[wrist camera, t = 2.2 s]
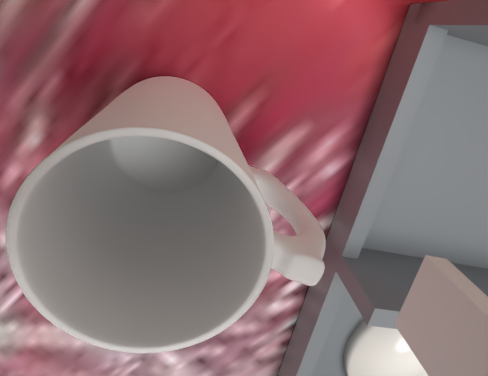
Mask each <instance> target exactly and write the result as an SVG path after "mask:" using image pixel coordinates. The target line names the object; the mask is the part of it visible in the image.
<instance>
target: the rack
mask: <svg viewBox="0 0 488 376" xmlns="http://www.w3.org/2000/svg"><path fill="white" fill-rule="evenodd" d="M425 255H428V256H434V257H440V258H445V259H447V260H448V261H450V262H451V263H452V264H453V265H454V266H455V267H456V268H457V269H458V270H459V271H460V272H462V273H463V274H464V275H465V276H466V277H467V278H468V279H469V280H470V281H471V282H472V283H473V284H475V285H476V286H477V287H478V288H479V289H480V290H481V291H482V292H483V293H484V294H485V295H487V296H488V0H450V1H438V2H426V3H414V4H410V7H409V10H408V12H407V15H406V18H405V21H404V24H403V26H402V29H401V32H400V35H399V38H398V40H397V43H396V46H395V49H394V51H393V54H392V57H391V60H390V63H389V65H388V68H387V71H386V74H385V77H384V79H383V82H382V85H381V88H380V91H379V93H378V96H377V99H376V102H375V105H374V107H373V110H372V113H371V116H370V118H369V121H368V124H367V127H366V130H365V132H364V135H363V138H362V141H361V144H360V146H359V149H358V152H357V155H356V158H355V160H354V163H353V166H352V169H351V171H350V174H349V177H348V180H347V183H346V185H345V188H344V191H343V194H342V197H341V199H340V202H339V205H338V208H337V211H336V213H335V216H334V219H333V222H332V224H331V227H330V230H329V233H328V236H327V238H326V246H325V252H324V256H323V259H322V260H323V262H324V265H325V269H324V273H323V275H322V277H321V279H320V280H319V282H318V283H317V284H316V285H314V286H309V289H308V291H307V294H306V297H305V300H304V303H303V305H302V308H301V311H300V314H299V317H298V319H297V322H296V325H295V328H294V331H293V333H292V336H291V339H290V342H289V344H288V347H287V350H286V353H285V356H284V358H283V361H282V364H281V367H280V370H279V372H278V375H277V376H347V375H346V372H345V369H344V364H343V355H344V350H345V347H346V344H347V341H348V339H349V337H350V335H351V334H352V332H353V331H354V329H355V328H356V327H357V326H358V325H359V324H360V323H361V322H362V321H363V320H365V322H366V324H367V325H368V326H376V327H384V328H392V329H397V328H396V326H395V325H394V323H395V321H396V319H397V317H398V315H399V312H400V310H401V308H402V306H403V304H404V301H405V299H406V297H407V295H408V293H409V290H410V288H411V286H412V284H413V282H414V279H415V277H416V275H417V273H418V271H419V268H420V266H421V264H422V262H423V260H424V257H425Z"/></svg>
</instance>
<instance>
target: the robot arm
mask: <svg viewBox="0 0 488 376" xmlns="http://www.w3.org/2000/svg"><path fill="white" fill-rule="evenodd" d="M394 325H395V326H396V328H397V329H398V331H399V332H400V334H401V335H402V337H403V338H404V340H405V341H406V343H407V344H408V346H409V347H410V349H411V350H412V352H413V353H414V355H415V356H416V358H417V359H418V361H419V362H420V364H421V365H422V367H423V368H424V370H425V371H426V373H427V374H428V376H488V296H487V295H485V294H484V293H483V292H482V291H481V290H480V289H479V288H478V287H477V286H476V285H475V284H473V283H472V282H471V281H470V280H469V279H468V278H467V277H466V276H465V275H464V274H463V273H462V272H460V271H459V270H458V269H457V268H456V267H455V266H454V265H453V264H452V263H451V262H450V261H448V260H447V259H445V258H440V257H434V256H428V255H425V257H424V260H423V262H422V264H421V266H420V268H419V271H418V273H417V275H416V277H415V279H414V282H413V284H412V286H411V288H410V290H409V293H408V295H407V297H406V299H405V301H404V304H403V306H402V308H401V310H400V312H399V315H398V317H397V319H396V321H395V323H394Z"/></svg>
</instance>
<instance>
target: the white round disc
mask: <svg viewBox="0 0 488 376" xmlns="http://www.w3.org/2000/svg"><path fill="white" fill-rule="evenodd" d="M343 364H344V369H345V372H346V375H347V376H428V374H427V373H426V371H425V370H424V368H423V367H422V365H421V364H420V362H419V361H418V359H417V358H416V356H415V355H414V353H413V352H412V350H411V349H410V347H409V346H408V344H407V343H406V341H405V340H404V338H403V337H402V335H401V334H400V332H399V331H398V329H392V328H384V327H376V326H368V325H367V324H366V322H365V320H363V321H362V322H361V323H360V324H359V325H358V326H357V327H356V328H355V329H354V331H353V332H352V334H351V335H350V337H349V339H348V341H347V344H346V347H345V350H344V355H343Z"/></svg>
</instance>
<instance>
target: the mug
mask: <svg viewBox="0 0 488 376" xmlns="http://www.w3.org/2000/svg"><path fill="white" fill-rule="evenodd" d="M266 205H268V206H269V207H271V208H273V209H274V210H276V211H277V212H279V213H280V214H281V215H282V216H283V217H284V218H285V219H286V220H287V221H288V222H289V223H290V224H291V225H292V227H293V228H294V230H295V232H296V235H297V236H289V235H283V234H280V233H278V232H275V231H273V226H272V222H271V218H270V214H269V211H268V208H267V206H266ZM325 246H326V240H325V235H324V232H323V229H322V227H321V226H320V224H319V222H318V221H317V220H316V218H315V217H314V216H313V214H312V213H311V212H310V211H309V209H308V208H307V207H306V206H305V205H304V204H303V203H302V202H301V201H300V200H299V199H298V198H297V197H296V196H295V195H294V194H293V193H292V192H291V191H290V190H289V189H288V188H287V187H286V186H285V185H284V184H283V183H281V182H280V181H279V180H278V179H277V178H276V177H275V176H274V175H273V174H271V173H269V172H267V171H264V170H261V169H258V168H255V167H252V166H249V165H248V164H247V162H246V160H245V157H244V155H243V153H242V151H241V149H240V147H239V145H238V143H237V141H236V139H235V137H234V135H233V133H232V131H231V128H230V126H229V124H228V122H227V120H226V118H225V116H224V114H223V112H222V111H221V109H220V107H219V106H218V104H217V103H216V101H215V100H214V99H213V98H212V97H211V95H210V94H209V93H207V92H206V91H205V90H204V89H203V88H201V87H200V86H198V85H196V84H195V83H193V82H190V81H188V80H185V79H182V78H178V77H171V76H159V77H152V78H148V79H145V80H143V81H140V82H138V83H136V84H134V85H133V86H131V87H130V88H128V89H127V90H125V91H124V92H123V93H121V94H120V95H119V96H118V97H116V98H115V99H114V100H113V101H112V102H111V103H110V104H108V105H107V106H106V107H105V108H104V109H103V110H101V111H100V112H99V113H98V114H97V115H95V116H94V117H93V118H92V119H91V120H89V121H88V122H87V123H86V124H85V125H83V126H82V127H81V128H80V129H79V130H77V131H76V132H75V133H74V134H73V135H71V136H70V137H69V138H68V139H67V140H66V141H64V142H63V143H62V144H61V145H60V146H59V147H58V148H57V149H56V150H55V151H54V152H52V153H51V154H50V155H49V156H48V157H46V158H45V159H44V160H43V161H42V162H41V163H39V164H38V165H37V166H36V167H35V168H34V170H33V171H32V172H31V173H30V174H29V175H28V177H27V178H26V179H25V181H24V182H23V183H22V185H21V186H20V188H19V190H18V191H17V193H16V195H15V197H14V199H13V202H12V204H11V207H10V210H9V213H8V217H7V223H6V248H7V254H8V259H9V263H10V266H11V269H12V272H13V274H14V277H15V279H16V281H17V283H18V285H19V287H20V288H21V290H22V292H23V293H24V295H25V296H26V297H27V299H28V300H29V301H30V303H31V304H32V305H33V306H34V307H35V308H36V309H37V310H38V311H39V312H40V313H41V314H42V315H43V316H44V317H45V318H46V319H47V320H49V321H50V322H51V323H52V324H54V325H55V326H57V327H58V328H59V329H61V330H63V331H64V332H66V333H68V334H69V335H71V336H73V337H75V338H77V339H79V340H82V341H84V342H86V343H89V344H92V345H95V346H98V347H102V348H105V349H110V350H115V351H121V352H129V353H158V352H166V351H172V350H177V349H181V348H185V347H188V346H191V345H194V344H197V343H200V342H202V341H204V340H207V339H209V338H211V337H213V336H215V335H216V334H218V333H220V332H222V331H223V330H225V329H226V328H228V327H229V326H230V325H232V324H233V323H234V322H235V321H237V320H238V319H239V318H240V317H241V316H242V315H243V314H244V313H245V312H246V311H247V310H248V309H249V308H250V307H251V306H252V304H253V303H254V302H255V300H256V299H257V298H258V296H259V295H260V293H261V291H262V290H263V288H264V286H265V284H266V282H267V279H268V277H269V274H270V270H271V269H273V270H276V271H278V272H279V273H281V274H282V275H283V276H284V277H286V278H287V279H290V280H293V281H296V282H300V283H302V284H305V285H308V286H314V285H316V284H317V283H318V282H319V280H320V279H321V277H322V275H323V273H324V269H325V265H324V262H323V260H322V259H323V256H324V252H325Z"/></svg>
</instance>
